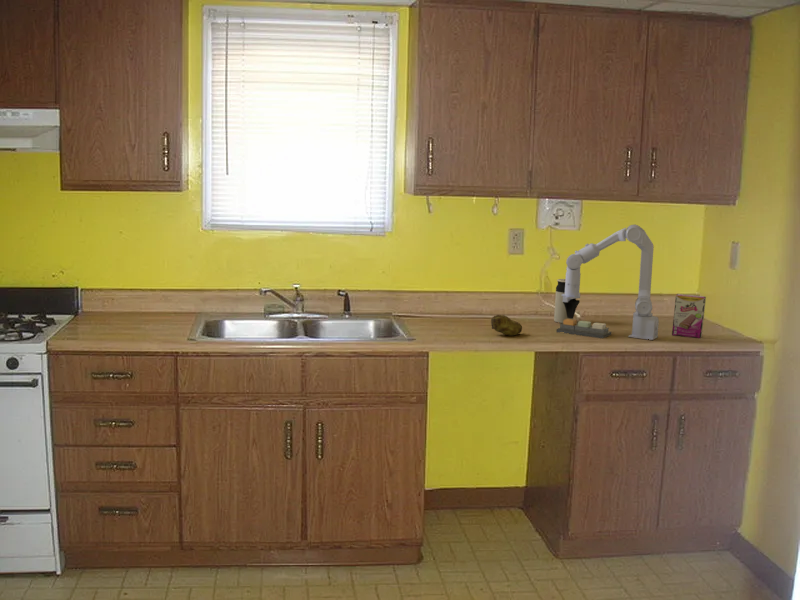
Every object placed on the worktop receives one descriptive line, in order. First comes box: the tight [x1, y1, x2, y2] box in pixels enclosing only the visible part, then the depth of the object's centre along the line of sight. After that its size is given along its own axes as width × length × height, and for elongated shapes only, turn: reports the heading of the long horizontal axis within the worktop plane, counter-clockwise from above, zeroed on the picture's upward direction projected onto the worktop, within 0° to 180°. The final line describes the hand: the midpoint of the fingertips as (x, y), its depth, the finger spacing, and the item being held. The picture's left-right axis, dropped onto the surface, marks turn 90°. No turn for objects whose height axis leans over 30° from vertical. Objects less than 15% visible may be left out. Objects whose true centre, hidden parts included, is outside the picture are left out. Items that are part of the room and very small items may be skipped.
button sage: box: [577, 320, 592, 327], centre depth 326 cm, size 4×4×2 cm
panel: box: [556, 322, 612, 339], centre depth 326 cm, size 19×10×3 cm, turn 58°
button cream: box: [592, 322, 607, 329], centre depth 323 cm, size 4×4×2 cm
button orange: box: [563, 318, 578, 326], centre depth 329 cm, size 4×4×2 cm
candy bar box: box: [671, 293, 707, 339], centre depth 327 cm, size 11×5×16 cm, turn 66°
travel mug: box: [553, 278, 574, 324], centre depth 348 cm, size 8×8×18 cm
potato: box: [490, 314, 523, 337], centre depth 318 cm, size 8×13×8 cm, turn 95°
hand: (570, 317), depth 329 cm, fingers closed
